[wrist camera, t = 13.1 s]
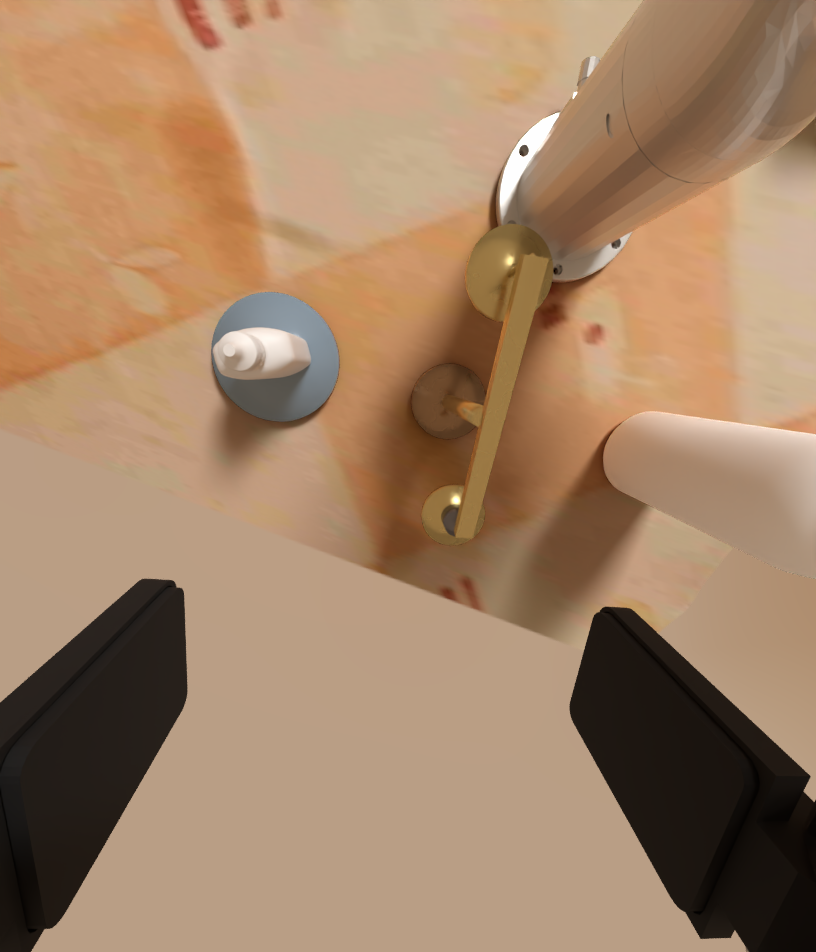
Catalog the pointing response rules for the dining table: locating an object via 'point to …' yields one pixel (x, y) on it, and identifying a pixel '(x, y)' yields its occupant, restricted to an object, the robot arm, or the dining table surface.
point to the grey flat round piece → (290, 392)
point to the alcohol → (723, 482)
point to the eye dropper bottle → (260, 354)
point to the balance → (461, 392)
